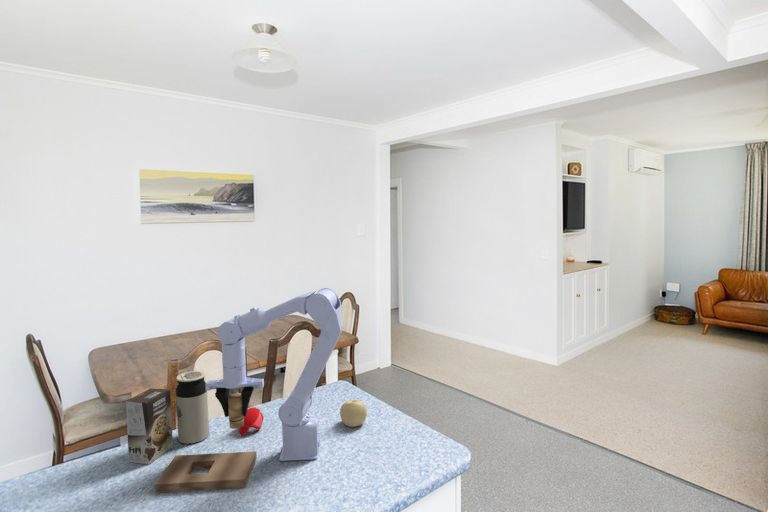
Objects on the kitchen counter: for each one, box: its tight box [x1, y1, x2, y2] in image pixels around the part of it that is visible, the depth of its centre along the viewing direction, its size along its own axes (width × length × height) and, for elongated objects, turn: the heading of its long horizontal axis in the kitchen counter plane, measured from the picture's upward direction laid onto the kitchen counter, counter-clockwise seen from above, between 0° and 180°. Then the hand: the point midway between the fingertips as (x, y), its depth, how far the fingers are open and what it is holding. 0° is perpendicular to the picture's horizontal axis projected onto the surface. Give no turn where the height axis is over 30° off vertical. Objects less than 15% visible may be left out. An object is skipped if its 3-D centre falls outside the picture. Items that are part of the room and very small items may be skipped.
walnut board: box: [154, 451, 258, 494], centre depth 105 cm, size 20×12×2 cm, turn 95°
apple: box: [339, 399, 368, 428], centre depth 130 cm, size 8×8×8 cm
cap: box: [238, 407, 264, 436], centre depth 127 cm, size 8×6×6 cm
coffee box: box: [125, 387, 174, 465], centre depth 114 cm, size 9×6×16 cm
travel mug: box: [175, 370, 210, 445], centre depth 122 cm, size 8×8×18 cm
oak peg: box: [228, 392, 244, 430], centre depth 115 cm, size 4×4×8 cm
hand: (236, 414), depth 115 cm, fingers closed on oak peg, 4 cm apart
